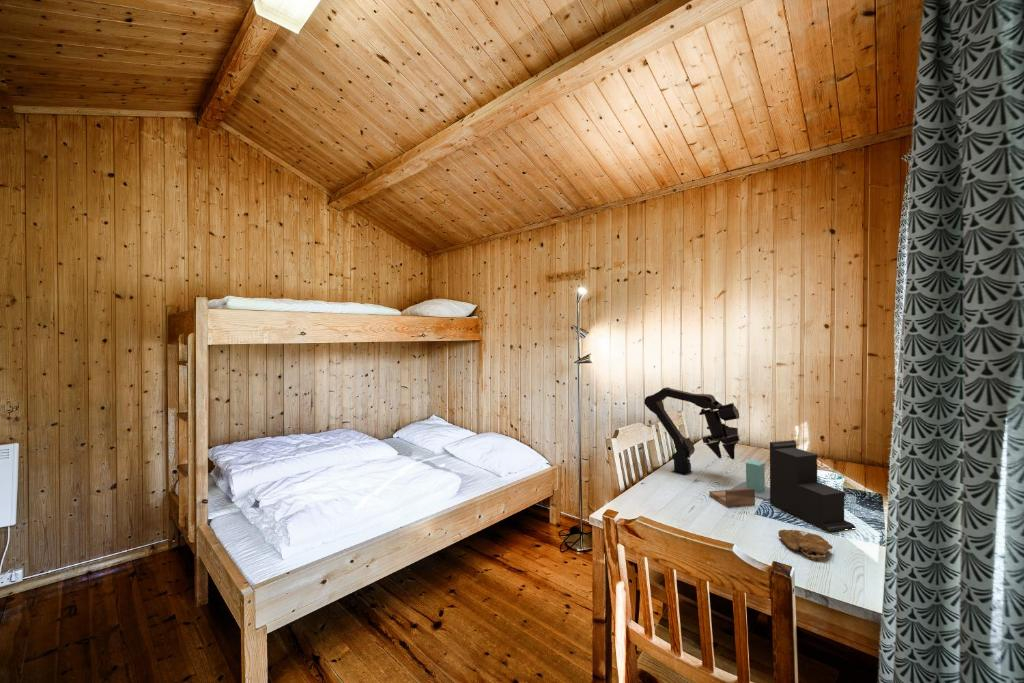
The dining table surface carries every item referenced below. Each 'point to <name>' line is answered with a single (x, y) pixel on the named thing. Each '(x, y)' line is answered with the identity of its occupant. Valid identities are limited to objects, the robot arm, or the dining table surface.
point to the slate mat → (762, 495)
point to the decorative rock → (806, 543)
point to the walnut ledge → (734, 497)
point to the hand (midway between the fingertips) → (726, 458)
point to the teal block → (755, 476)
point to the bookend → (804, 488)
